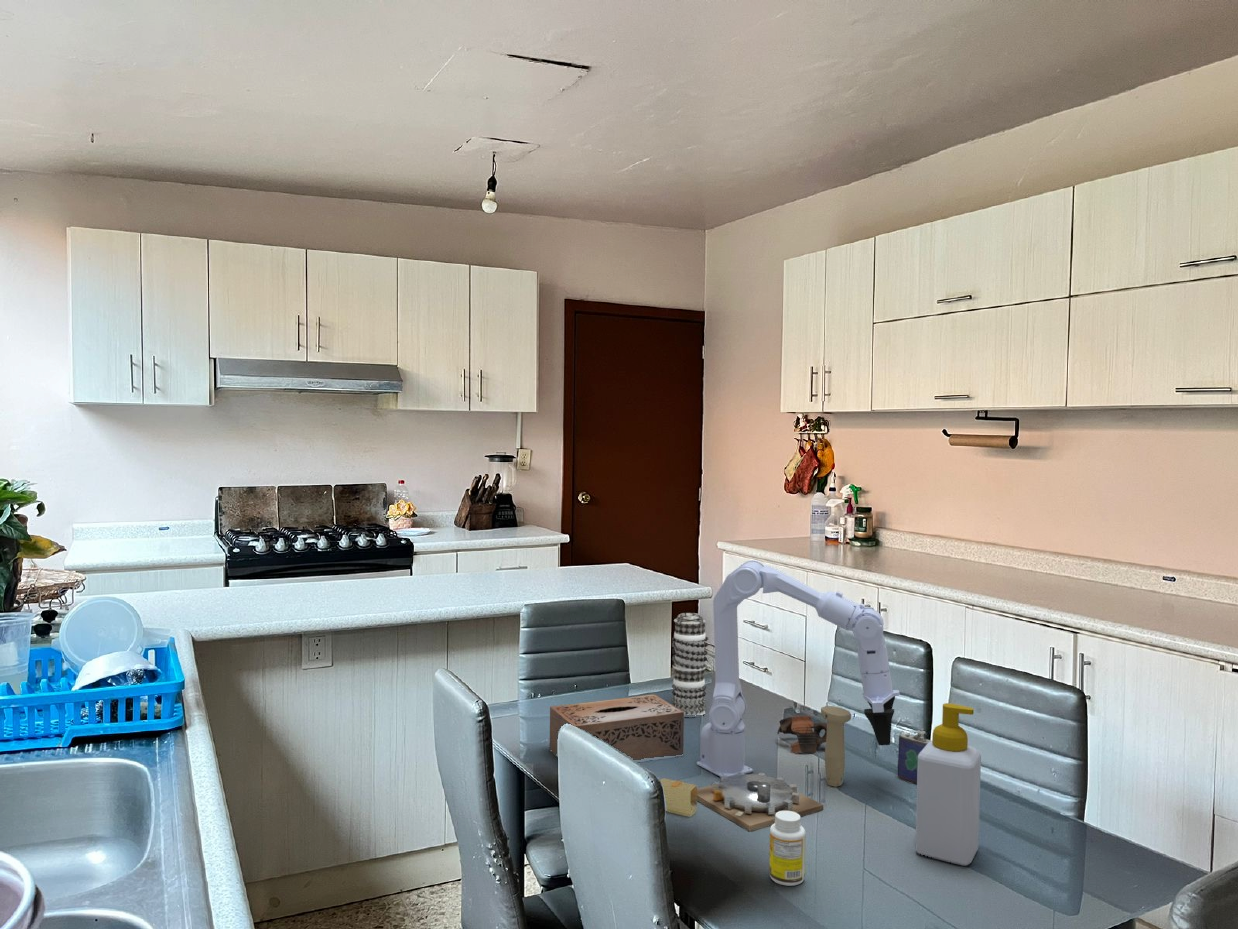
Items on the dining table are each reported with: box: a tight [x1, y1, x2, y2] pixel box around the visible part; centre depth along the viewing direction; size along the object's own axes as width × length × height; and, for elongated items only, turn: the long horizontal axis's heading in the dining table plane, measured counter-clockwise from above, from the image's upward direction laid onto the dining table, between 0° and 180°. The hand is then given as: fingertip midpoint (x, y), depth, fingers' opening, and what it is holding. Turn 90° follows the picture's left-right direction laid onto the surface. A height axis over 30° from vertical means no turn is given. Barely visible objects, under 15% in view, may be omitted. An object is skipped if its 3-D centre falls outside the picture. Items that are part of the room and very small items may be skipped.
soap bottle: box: [914, 702, 982, 866], centre depth 152 cm, size 9×9×25 cm
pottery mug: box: [777, 715, 827, 754], centre depth 203 cm, size 12×9×8 cm
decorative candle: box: [671, 612, 709, 716], centre depth 226 cm, size 9×9×25 cm
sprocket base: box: [697, 773, 824, 832], centre depth 172 cm, size 18×18×1 cm
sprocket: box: [711, 772, 801, 815], centre depth 172 cm, size 16×16×4 cm
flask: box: [897, 730, 932, 785], centre depth 183 cm, size 9×3×11 cm, turn 50°
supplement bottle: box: [769, 811, 806, 887], centre depth 142 cm, size 6×6×10 cm
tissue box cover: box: [549, 693, 685, 760], centre depth 197 cm, size 26×14×10 cm, turn 115°
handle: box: [820, 705, 852, 788], centre depth 181 cm, size 5×6×15 cm
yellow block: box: [660, 778, 698, 818], centre depth 168 cm, size 7×3×5 cm, turn 62°
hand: (885, 738), depth 178 cm, fingers open, 7 cm apart
